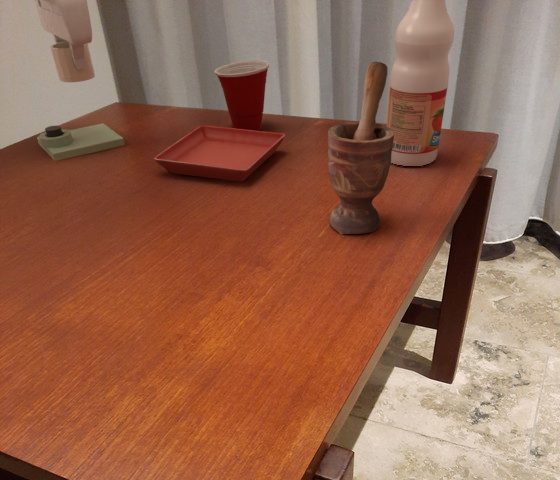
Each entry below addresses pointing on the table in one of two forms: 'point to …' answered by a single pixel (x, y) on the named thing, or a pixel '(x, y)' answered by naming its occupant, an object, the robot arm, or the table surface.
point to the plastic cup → (244, 92)
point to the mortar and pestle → (360, 160)
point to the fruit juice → (419, 82)
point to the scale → (80, 141)
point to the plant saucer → (220, 152)
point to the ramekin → (71, 63)
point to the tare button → (53, 131)
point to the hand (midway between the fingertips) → (74, 64)
